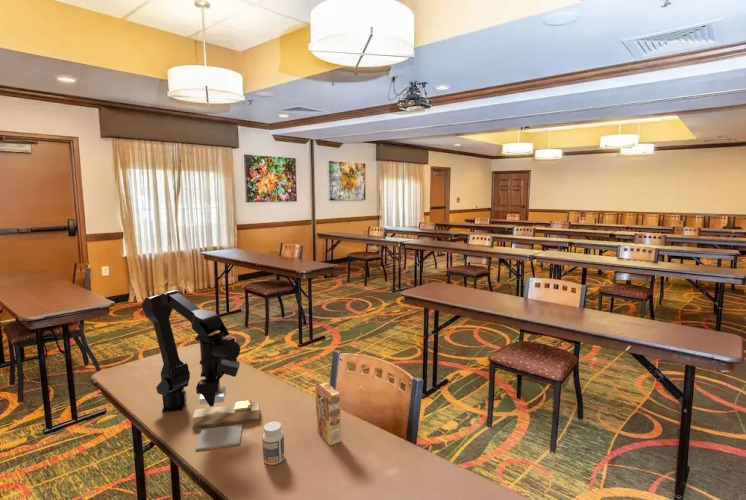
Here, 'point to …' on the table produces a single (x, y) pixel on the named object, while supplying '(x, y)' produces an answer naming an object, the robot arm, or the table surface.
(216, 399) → the cap plate
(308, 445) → the table surface
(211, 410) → the body
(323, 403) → the candy box
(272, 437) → the pill bottle
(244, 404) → the gold flat block
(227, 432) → the mat
